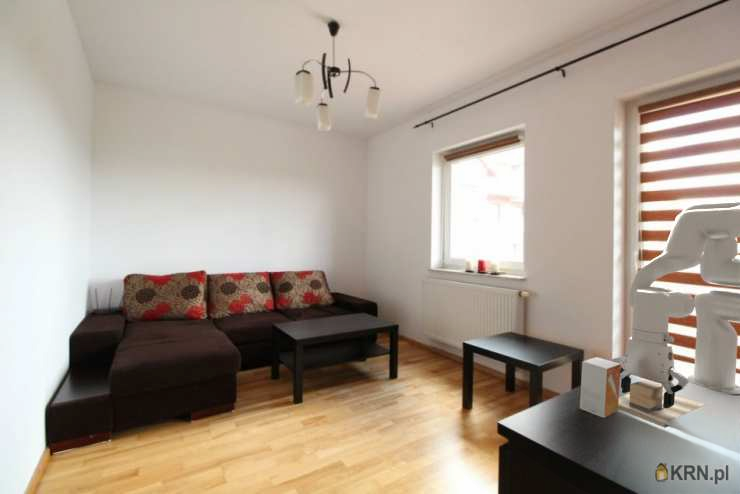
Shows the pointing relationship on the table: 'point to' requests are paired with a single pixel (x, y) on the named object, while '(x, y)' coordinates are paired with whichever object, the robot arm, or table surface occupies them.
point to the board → (661, 409)
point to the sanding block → (646, 396)
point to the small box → (600, 386)
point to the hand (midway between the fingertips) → (646, 399)
